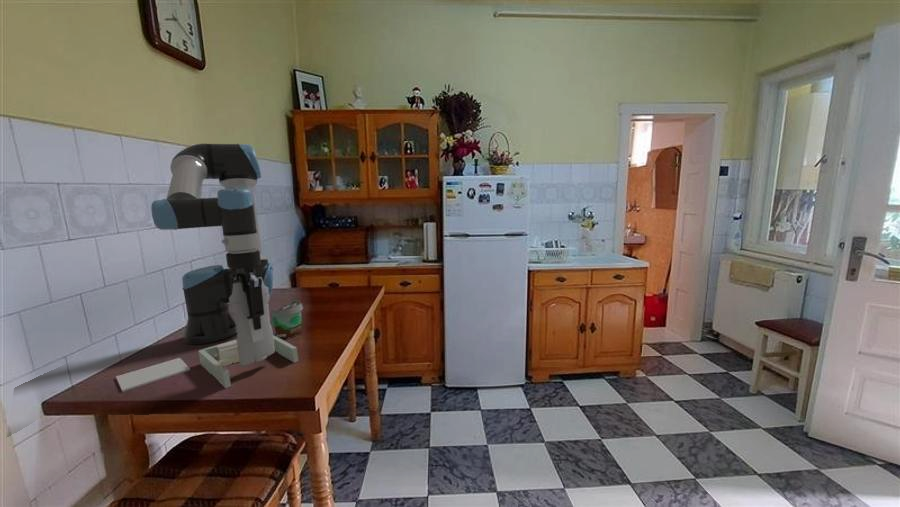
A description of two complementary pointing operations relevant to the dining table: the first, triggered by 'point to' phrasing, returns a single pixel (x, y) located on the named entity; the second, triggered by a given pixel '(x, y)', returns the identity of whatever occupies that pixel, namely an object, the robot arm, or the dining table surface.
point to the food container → (288, 320)
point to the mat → (151, 374)
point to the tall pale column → (246, 347)
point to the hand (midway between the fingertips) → (254, 338)
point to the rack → (223, 373)
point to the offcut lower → (227, 360)
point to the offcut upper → (227, 350)
